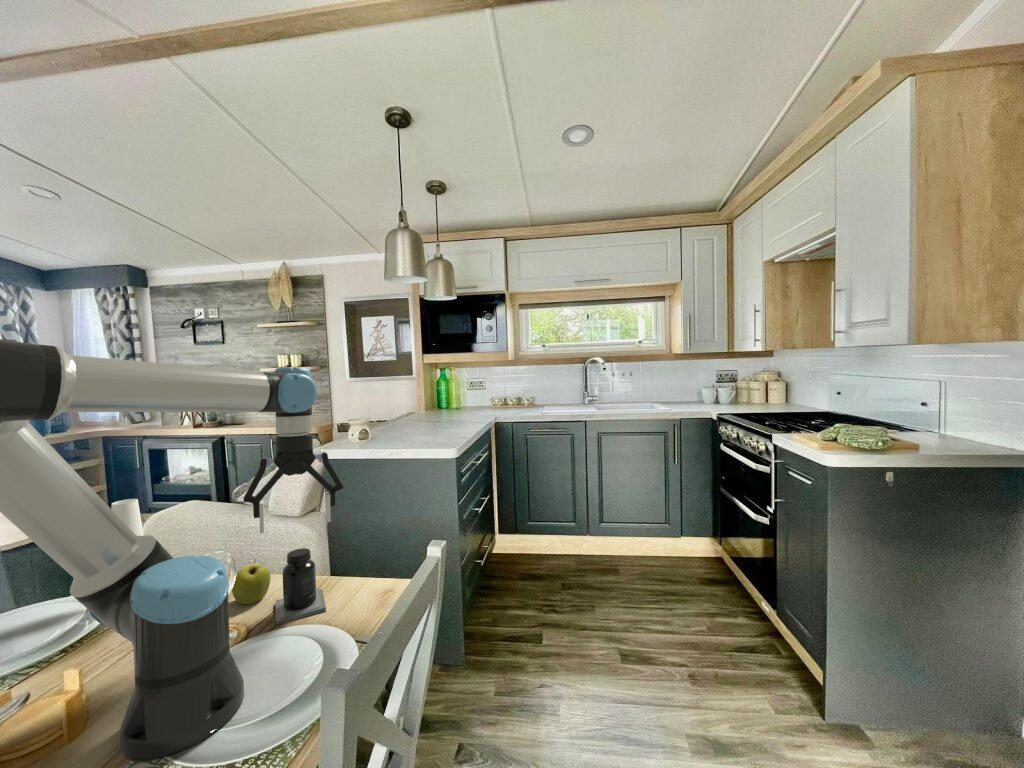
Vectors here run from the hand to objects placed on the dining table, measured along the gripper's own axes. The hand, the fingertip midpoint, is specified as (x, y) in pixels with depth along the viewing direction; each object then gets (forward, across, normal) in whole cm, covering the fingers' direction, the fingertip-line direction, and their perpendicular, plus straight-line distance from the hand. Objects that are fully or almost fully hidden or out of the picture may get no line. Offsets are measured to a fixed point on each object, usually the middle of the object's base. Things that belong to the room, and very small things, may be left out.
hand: (296, 525), depth 95 cm
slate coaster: (+19, 0, 0) cm, 19 cm away
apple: (+19, +10, -10) cm, 24 cm away
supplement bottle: (+18, 0, 0) cm, 18 cm away
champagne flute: (+20, +36, -29) cm, 51 cm away
